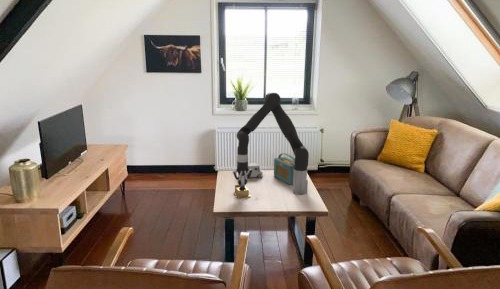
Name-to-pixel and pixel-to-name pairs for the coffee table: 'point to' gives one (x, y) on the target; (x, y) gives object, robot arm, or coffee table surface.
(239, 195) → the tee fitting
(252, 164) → the toy vehicle
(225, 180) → the coffee table surface
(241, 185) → the silver round-ended rod
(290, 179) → the radio
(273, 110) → the robot arm
